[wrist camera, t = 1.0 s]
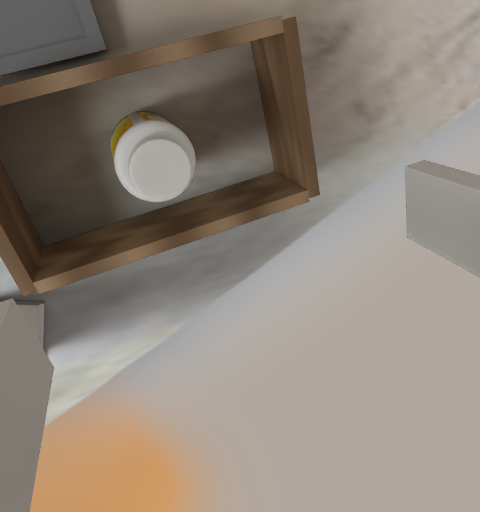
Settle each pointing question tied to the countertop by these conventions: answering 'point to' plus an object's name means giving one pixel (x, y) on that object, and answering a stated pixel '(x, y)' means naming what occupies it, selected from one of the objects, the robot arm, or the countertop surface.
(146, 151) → the supplement bottle
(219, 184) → the countertop surface
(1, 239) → the frame
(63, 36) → the tray
